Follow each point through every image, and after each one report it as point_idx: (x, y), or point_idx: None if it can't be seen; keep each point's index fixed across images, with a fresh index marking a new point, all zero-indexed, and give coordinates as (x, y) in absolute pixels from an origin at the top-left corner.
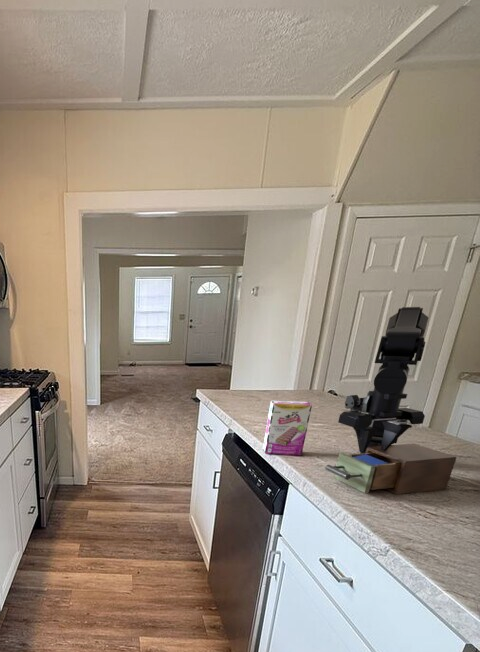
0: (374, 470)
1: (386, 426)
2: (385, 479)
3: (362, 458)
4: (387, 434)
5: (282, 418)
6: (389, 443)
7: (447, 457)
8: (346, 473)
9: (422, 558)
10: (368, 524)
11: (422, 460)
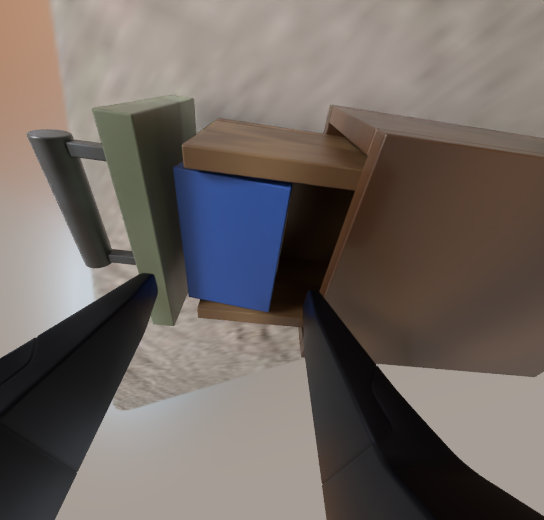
0: (179, 311)
1: (388, 513)
2: None
3: (223, 222)
4: (337, 416)
5: None
6: (308, 370)
7: (498, 372)
8: (86, 259)
9: (130, 381)
10: None
11: (379, 362)
